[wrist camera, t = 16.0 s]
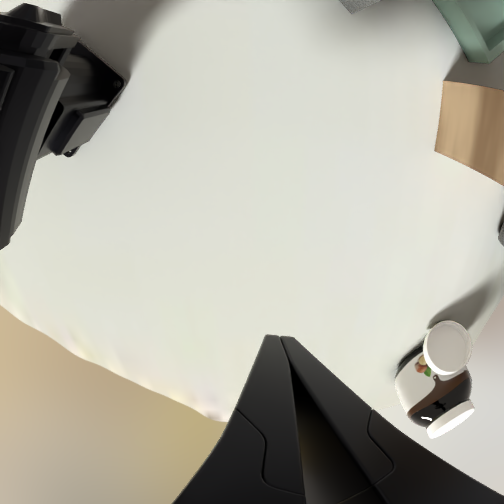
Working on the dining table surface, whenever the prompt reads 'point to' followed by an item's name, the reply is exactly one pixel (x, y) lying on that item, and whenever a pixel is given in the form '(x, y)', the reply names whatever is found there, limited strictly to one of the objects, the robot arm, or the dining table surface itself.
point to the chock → (473, 128)
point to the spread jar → (437, 379)
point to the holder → (357, 4)
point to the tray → (476, 26)
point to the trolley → (501, 235)
